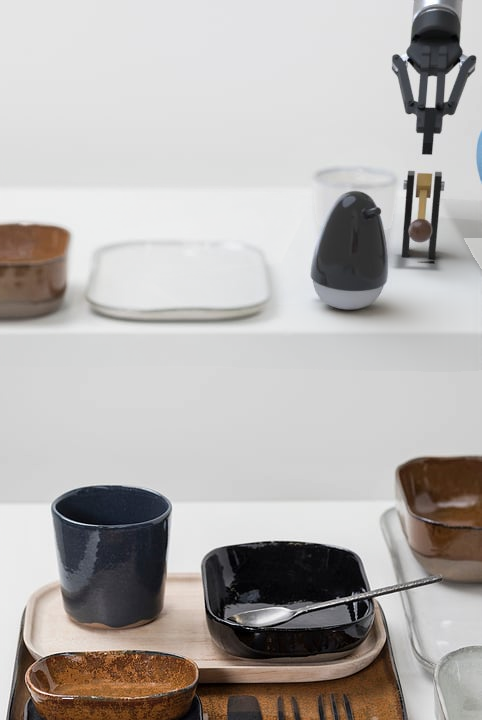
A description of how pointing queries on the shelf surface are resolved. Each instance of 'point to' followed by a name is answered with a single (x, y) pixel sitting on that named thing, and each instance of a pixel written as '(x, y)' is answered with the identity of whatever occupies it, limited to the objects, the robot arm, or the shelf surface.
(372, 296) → the pump dispenser
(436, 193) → the bracket
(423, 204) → the ball knob lever
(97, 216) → the shelf surface
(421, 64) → the robot arm
